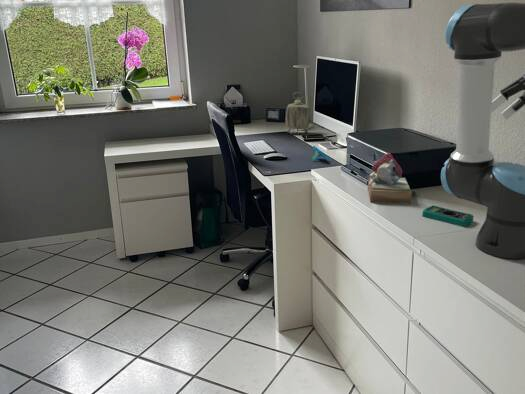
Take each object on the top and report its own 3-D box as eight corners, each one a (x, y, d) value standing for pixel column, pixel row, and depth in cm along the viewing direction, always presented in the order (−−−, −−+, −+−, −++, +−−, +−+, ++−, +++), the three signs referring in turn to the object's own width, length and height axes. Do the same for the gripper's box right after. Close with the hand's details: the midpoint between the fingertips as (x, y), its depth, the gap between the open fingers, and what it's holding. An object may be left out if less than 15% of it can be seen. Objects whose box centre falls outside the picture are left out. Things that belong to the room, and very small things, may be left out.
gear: (332, 160, 234) (317, 145, 232) (323, 169, 234) (308, 154, 232) (326, 157, 244) (312, 143, 242) (318, 166, 245) (303, 152, 243)
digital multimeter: (465, 229, 156) (466, 220, 155) (421, 217, 166) (421, 209, 165) (474, 222, 161) (476, 214, 161) (431, 212, 171) (432, 203, 170)
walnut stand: (410, 204, 178) (412, 190, 176) (370, 202, 180) (371, 188, 178) (404, 189, 195) (405, 177, 193) (367, 187, 197) (368, 175, 195)
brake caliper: (407, 174, 187) (403, 152, 179) (398, 197, 183) (393, 176, 174) (378, 170, 194) (373, 149, 185) (368, 192, 189) (362, 171, 180)
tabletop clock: (309, 132, 308) (310, 91, 301) (309, 135, 300) (310, 93, 292) (285, 132, 310) (286, 91, 302) (285, 135, 301) (285, 92, 293)
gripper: (579, 77, 147) (518, 128, 152) (540, 71, 170) (488, 115, 176) (564, 58, 145) (503, 110, 151) (526, 55, 169) (475, 100, 174)
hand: (495, 113), depth 163 cm, fingers open, 13 cm apart
